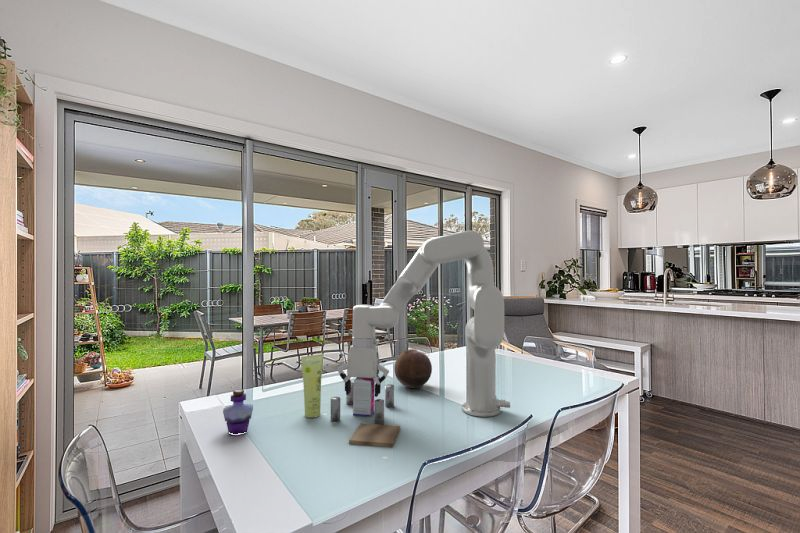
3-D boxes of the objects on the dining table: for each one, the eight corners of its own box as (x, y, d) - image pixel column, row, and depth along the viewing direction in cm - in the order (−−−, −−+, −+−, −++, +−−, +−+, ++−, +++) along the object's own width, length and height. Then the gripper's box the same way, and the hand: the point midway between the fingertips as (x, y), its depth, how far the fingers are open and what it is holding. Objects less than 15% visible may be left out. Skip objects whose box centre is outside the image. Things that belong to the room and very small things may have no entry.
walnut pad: (400, 429, 117) (400, 425, 117) (392, 447, 105) (392, 443, 105) (360, 426, 119) (360, 423, 119) (348, 443, 107) (348, 440, 107)
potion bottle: (230, 425, 119) (230, 385, 119) (258, 426, 119) (258, 386, 119) (216, 438, 111) (216, 395, 111) (246, 438, 110) (246, 395, 110)
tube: (314, 419, 124) (314, 357, 124) (300, 417, 126) (300, 356, 126) (323, 413, 130) (323, 353, 130) (309, 411, 131) (309, 352, 131)
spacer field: (394, 404, 138) (394, 384, 138) (383, 425, 119) (383, 402, 119) (347, 401, 141) (347, 382, 141) (329, 422, 122) (329, 399, 122)
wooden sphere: (439, 388, 157) (439, 350, 157) (408, 395, 148) (408, 355, 148) (416, 379, 169) (416, 344, 169) (387, 385, 160) (387, 348, 161)
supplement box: (370, 416, 127) (370, 381, 127) (352, 415, 128) (352, 380, 128) (374, 410, 132) (374, 376, 132) (358, 409, 133) (358, 375, 134)
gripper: (391, 341, 132) (390, 393, 132) (341, 339, 135) (340, 389, 135) (387, 346, 125) (385, 400, 125) (334, 343, 128) (333, 396, 128)
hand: (362, 394), depth 130 cm, fingers open, 9 cm apart
